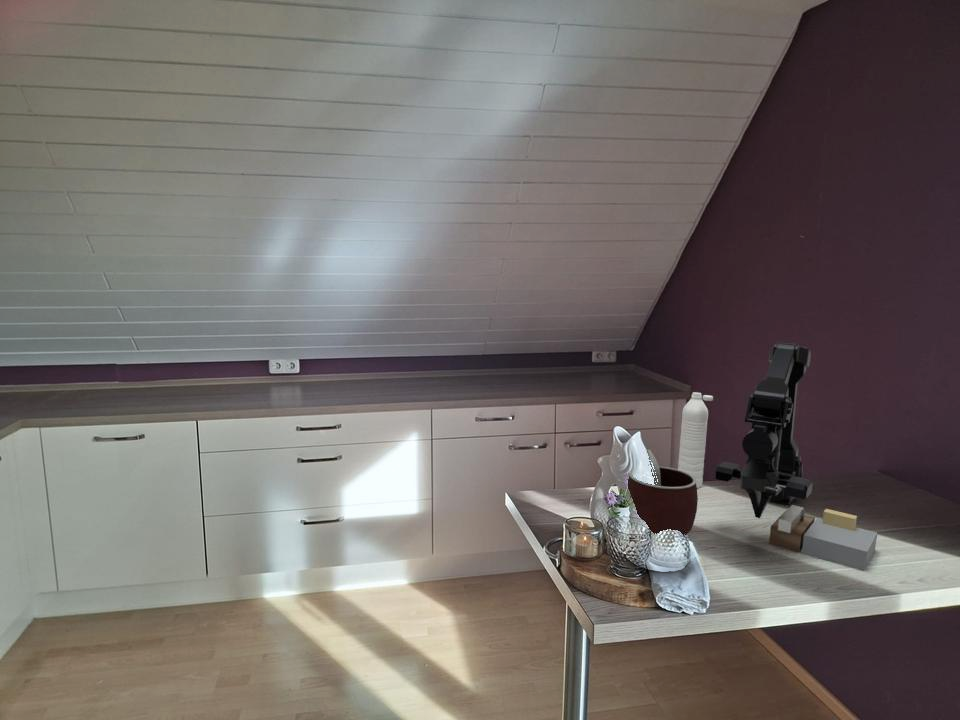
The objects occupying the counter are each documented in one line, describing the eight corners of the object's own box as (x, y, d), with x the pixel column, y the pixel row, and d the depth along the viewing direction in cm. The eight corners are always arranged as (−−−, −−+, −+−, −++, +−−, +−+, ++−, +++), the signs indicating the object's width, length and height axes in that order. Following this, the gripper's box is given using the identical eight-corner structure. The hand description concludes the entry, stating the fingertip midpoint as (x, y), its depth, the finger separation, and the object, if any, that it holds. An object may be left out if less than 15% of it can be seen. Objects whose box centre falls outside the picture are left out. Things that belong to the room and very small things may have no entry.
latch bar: (789, 514, 147) (790, 503, 147) (805, 517, 145) (806, 507, 145) (775, 529, 138) (777, 518, 138) (792, 533, 136) (793, 522, 136)
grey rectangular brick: (815, 535, 146) (818, 506, 145) (874, 550, 139) (878, 520, 138) (801, 553, 137) (805, 523, 136) (864, 570, 130) (869, 539, 129)
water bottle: (671, 481, 178) (678, 390, 174) (691, 479, 181) (698, 389, 177) (692, 492, 170) (700, 397, 166) (713, 490, 173) (721, 396, 169)
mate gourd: (703, 574, 127) (712, 474, 124) (633, 575, 126) (640, 474, 122) (673, 539, 142) (680, 449, 139) (610, 540, 141) (616, 449, 138)
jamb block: (784, 526, 150) (785, 510, 150) (812, 534, 147) (814, 517, 146) (768, 544, 141) (770, 526, 140) (799, 552, 137) (801, 534, 137)
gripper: (708, 446, 140) (702, 517, 142) (804, 466, 128) (795, 542, 131) (725, 436, 148) (719, 502, 151) (816, 453, 137) (808, 524, 140)
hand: (758, 517), depth 143 cm, fingers closed
